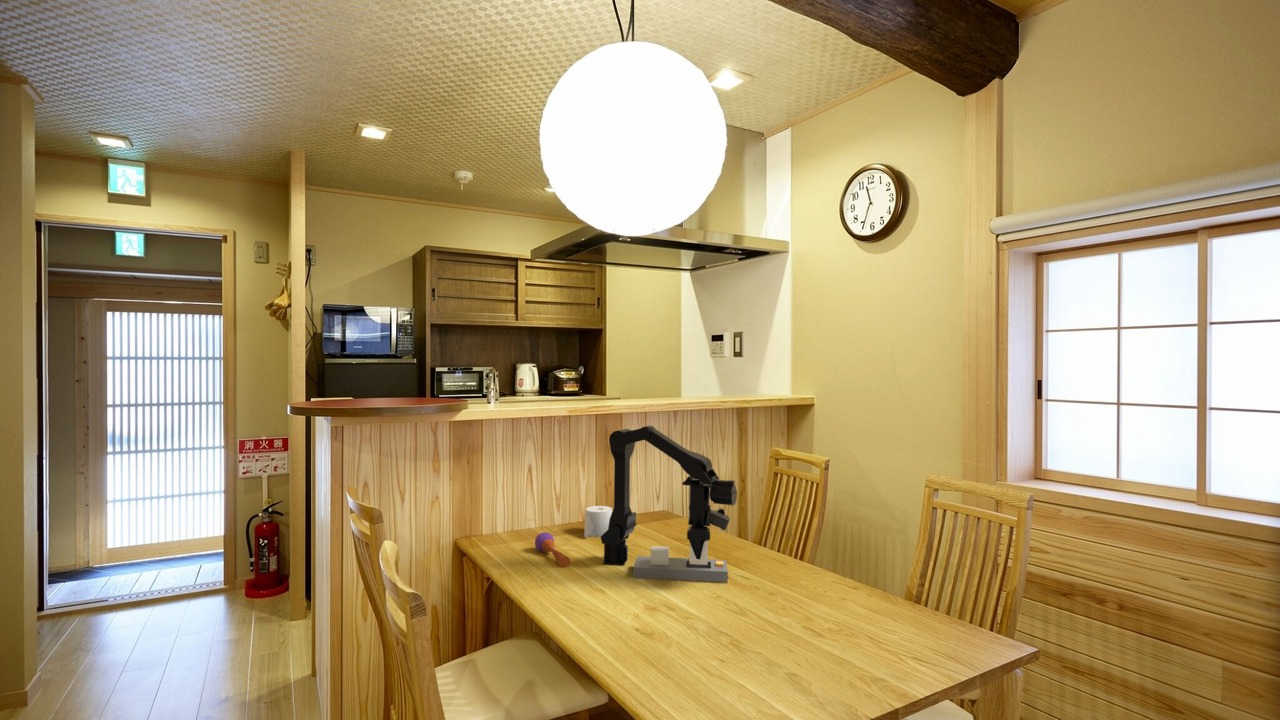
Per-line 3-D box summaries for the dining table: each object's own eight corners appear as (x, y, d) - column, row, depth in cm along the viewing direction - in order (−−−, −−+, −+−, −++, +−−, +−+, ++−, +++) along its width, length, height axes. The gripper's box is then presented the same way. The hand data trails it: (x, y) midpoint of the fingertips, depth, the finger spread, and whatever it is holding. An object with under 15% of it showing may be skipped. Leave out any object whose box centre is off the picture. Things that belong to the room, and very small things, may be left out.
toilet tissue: (582, 540, 209) (582, 514, 209) (587, 529, 222) (587, 505, 222) (609, 540, 209) (609, 515, 209) (612, 530, 222) (613, 506, 222)
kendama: (553, 555, 180) (531, 533, 197) (556, 574, 181) (533, 550, 198) (572, 549, 182) (548, 527, 200) (575, 567, 183) (551, 544, 201)
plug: (689, 564, 174) (689, 539, 174) (689, 559, 178) (690, 535, 178) (707, 564, 174) (707, 539, 174) (707, 560, 178) (707, 535, 178)
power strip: (633, 577, 173) (633, 552, 173) (637, 566, 183) (637, 542, 183) (727, 582, 170) (727, 557, 170) (726, 570, 180) (726, 546, 180)
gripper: (729, 510, 166) (728, 569, 166) (726, 495, 185) (725, 548, 184) (687, 508, 167) (686, 567, 167) (689, 494, 186) (688, 546, 186)
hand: (698, 556), depth 176 cm, fingers closed on plug, 4 cm apart
